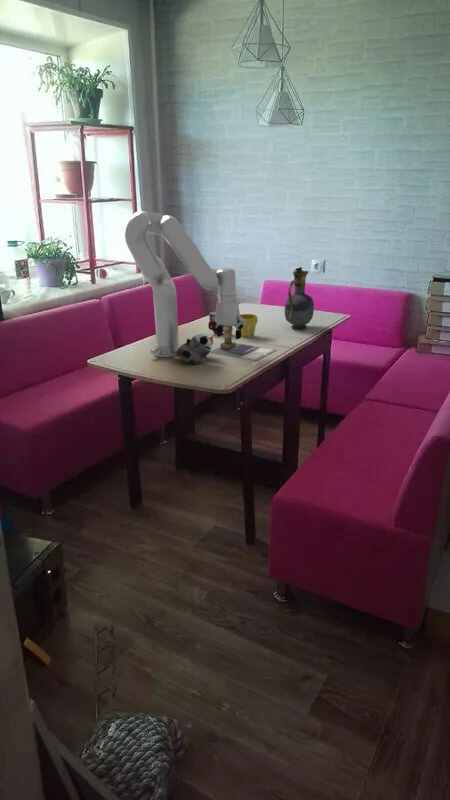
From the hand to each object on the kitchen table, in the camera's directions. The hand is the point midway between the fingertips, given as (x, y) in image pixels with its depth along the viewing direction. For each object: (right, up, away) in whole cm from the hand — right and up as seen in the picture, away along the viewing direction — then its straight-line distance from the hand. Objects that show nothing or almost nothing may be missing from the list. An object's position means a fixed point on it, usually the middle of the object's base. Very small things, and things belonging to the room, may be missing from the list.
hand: (229, 337), depth 258 cm
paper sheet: (+12, -8, -6) cm, 16 cm away
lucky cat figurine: (-14, -11, -11) cm, 21 cm away
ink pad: (+6, -7, -2) cm, 9 cm away
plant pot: (+8, +3, +22) cm, 24 cm away
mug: (-6, +4, +28) cm, 29 cm away
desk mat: (+6, -7, -2) cm, 9 cm away
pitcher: (+34, +8, +33) cm, 48 cm away
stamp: (0, -5, +2) cm, 5 cm away
